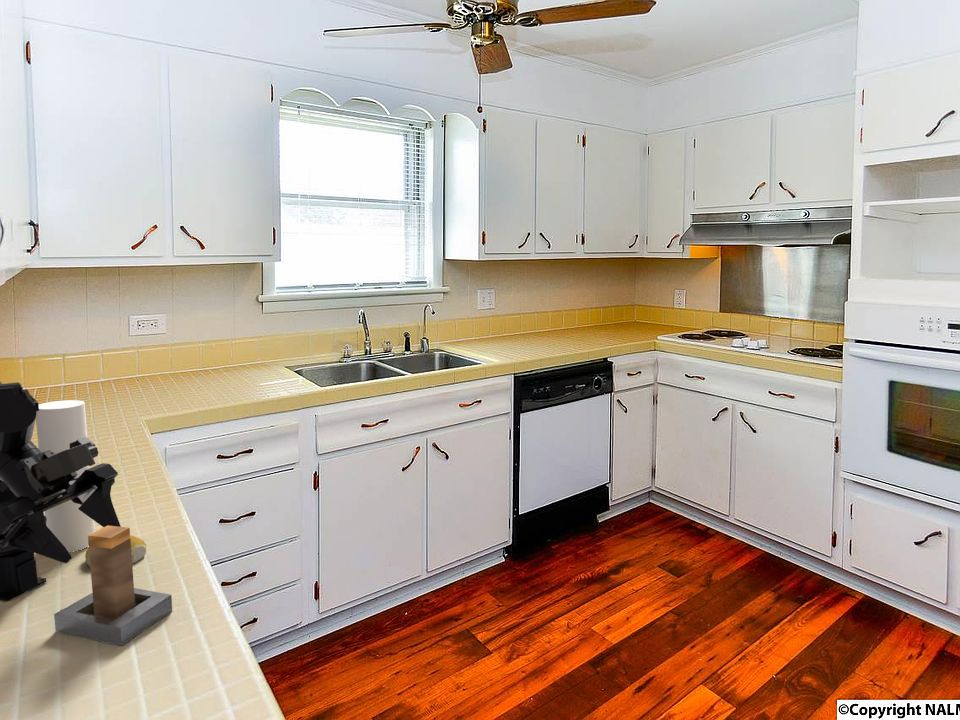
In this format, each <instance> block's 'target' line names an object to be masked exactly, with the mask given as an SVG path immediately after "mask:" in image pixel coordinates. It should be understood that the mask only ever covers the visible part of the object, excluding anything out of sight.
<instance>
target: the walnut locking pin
mask: <svg viewBox="0 0 960 720" xmlns="http://www.w3.org/2000/svg"><path fill="white" fill-rule="evenodd" d="M130 536H131V528H130V527H126V526H121V527H117V526H106V527H102V528H100V529H98V530H95V532H94V533H92V534H90V535H88V544H89V556H90V566H89V567H90V578H91V589H92V592H91V593H93V604H94V616H97V617H102V618H107V619H112V620H115V619H117V618H118V617H120V616H121V615H123V614H125V613H126V612H128V611H129V610H131V609H133V608H134V607H135V595H134V588H135V585H134V584H135V583H134V582H135V581H134V571H133V563H132V554H131V540H130Z"/></svg>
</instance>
